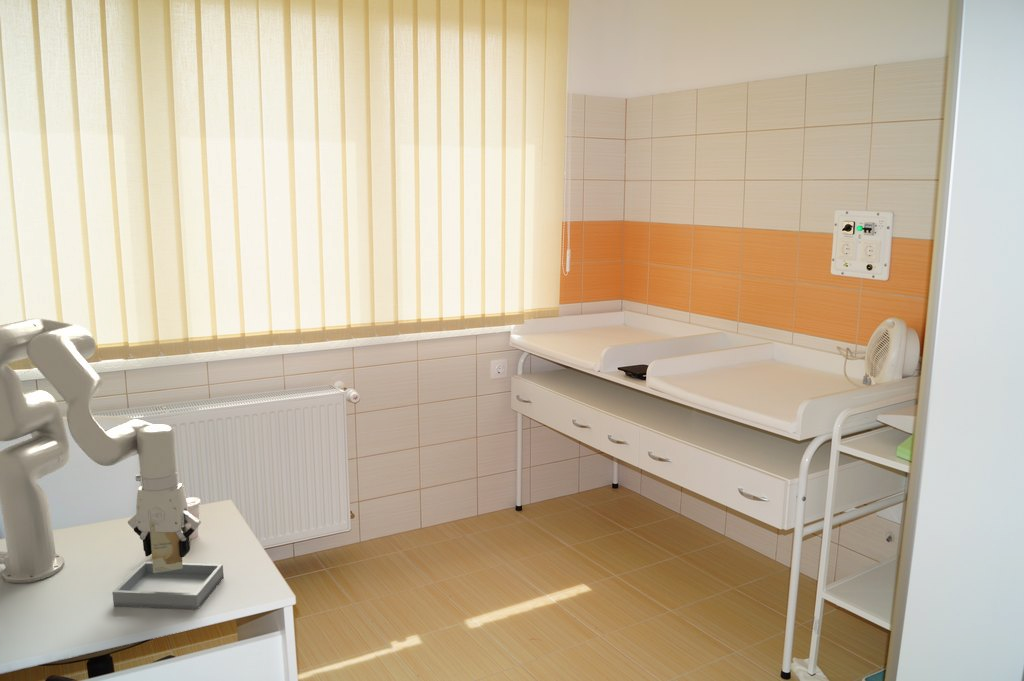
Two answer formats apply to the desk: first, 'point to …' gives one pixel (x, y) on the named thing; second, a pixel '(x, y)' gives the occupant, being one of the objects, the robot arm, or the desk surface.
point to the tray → (168, 586)
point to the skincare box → (165, 551)
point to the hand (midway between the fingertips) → (167, 553)
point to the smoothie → (193, 511)
